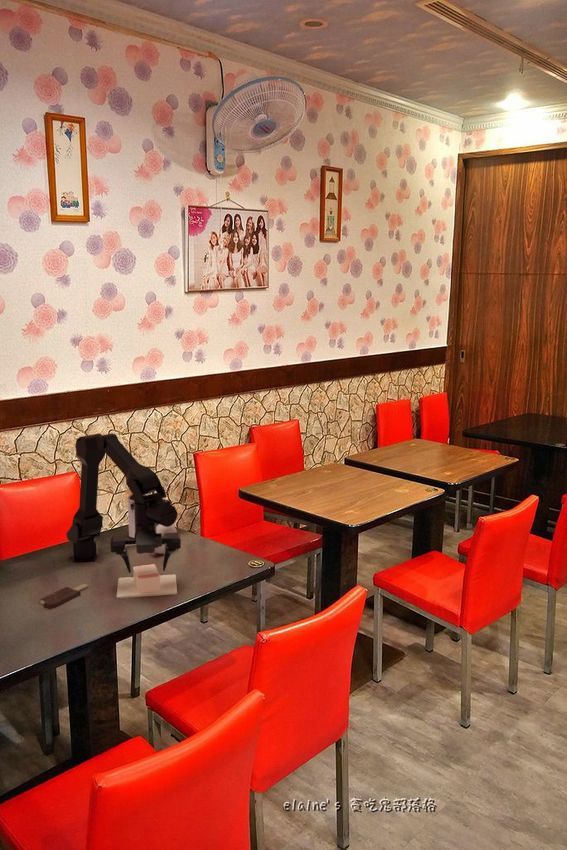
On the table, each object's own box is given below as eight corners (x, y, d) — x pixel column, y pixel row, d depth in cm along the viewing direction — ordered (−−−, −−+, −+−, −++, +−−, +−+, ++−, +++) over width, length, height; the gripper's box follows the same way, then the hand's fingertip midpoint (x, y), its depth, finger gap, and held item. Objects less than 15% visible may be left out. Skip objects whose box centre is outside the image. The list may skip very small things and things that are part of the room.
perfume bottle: (124, 536, 235) (122, 478, 230) (141, 533, 237) (139, 475, 233) (130, 541, 230) (128, 482, 226) (147, 538, 233) (145, 480, 228)
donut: (156, 559, 216) (155, 528, 214) (148, 556, 218) (147, 525, 216) (179, 549, 224) (179, 519, 222) (172, 547, 226) (171, 517, 224)
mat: (116, 598, 190) (116, 596, 189) (118, 579, 201) (118, 577, 201) (177, 594, 192) (177, 592, 192) (175, 576, 204) (175, 574, 204)
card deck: (133, 579, 200) (133, 566, 199) (155, 577, 202) (154, 563, 201) (138, 593, 192) (137, 579, 191) (160, 590, 193) (160, 576, 193)
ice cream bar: (80, 585, 198) (37, 606, 185) (79, 579, 198) (36, 600, 185) (93, 589, 195) (51, 611, 183) (93, 584, 195) (50, 605, 182)
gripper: (108, 529, 183) (110, 586, 186) (181, 526, 186) (182, 581, 190) (110, 515, 194) (112, 569, 197) (179, 512, 197) (180, 564, 200)
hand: (146, 571), depth 196 cm, fingers open, 9 cm apart
